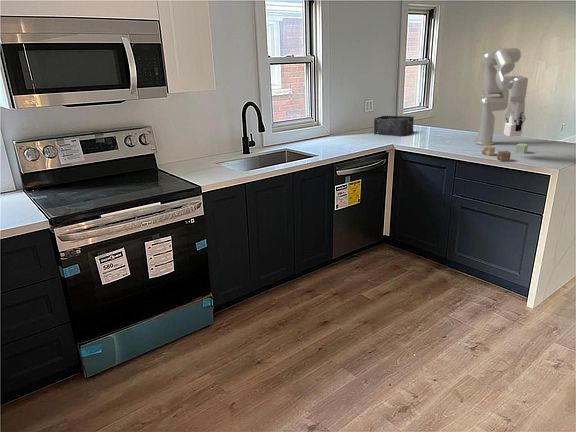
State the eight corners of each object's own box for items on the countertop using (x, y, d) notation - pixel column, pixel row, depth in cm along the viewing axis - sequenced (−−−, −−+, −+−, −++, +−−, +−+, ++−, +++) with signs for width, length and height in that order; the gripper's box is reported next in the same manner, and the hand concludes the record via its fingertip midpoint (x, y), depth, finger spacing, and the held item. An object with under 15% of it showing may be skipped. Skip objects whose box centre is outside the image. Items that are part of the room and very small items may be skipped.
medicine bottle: (515, 133, 255) (518, 113, 250) (521, 136, 248) (524, 115, 244) (503, 134, 255) (506, 114, 250) (509, 137, 248) (512, 116, 244)
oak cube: (481, 154, 264) (482, 146, 263) (487, 153, 266) (488, 145, 265) (488, 155, 260) (489, 147, 258) (494, 154, 262) (495, 146, 260)
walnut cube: (497, 159, 251) (498, 151, 249) (505, 159, 251) (506, 150, 249) (501, 161, 246) (502, 153, 244) (509, 160, 246) (510, 152, 244)
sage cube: (515, 152, 264) (516, 144, 262) (518, 151, 267) (519, 143, 265) (523, 153, 260) (524, 145, 259) (527, 152, 263) (528, 144, 262)
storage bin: (372, 134, 351) (372, 118, 346) (382, 130, 365) (383, 115, 360) (404, 136, 334) (405, 119, 329) (414, 132, 348) (415, 116, 343)
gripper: (502, 98, 251) (498, 127, 258) (522, 101, 235) (517, 133, 242) (513, 97, 252) (509, 126, 259) (534, 100, 236) (529, 131, 243)
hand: (513, 129), depth 250 cm, fingers closed on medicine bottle, 7 cm apart
